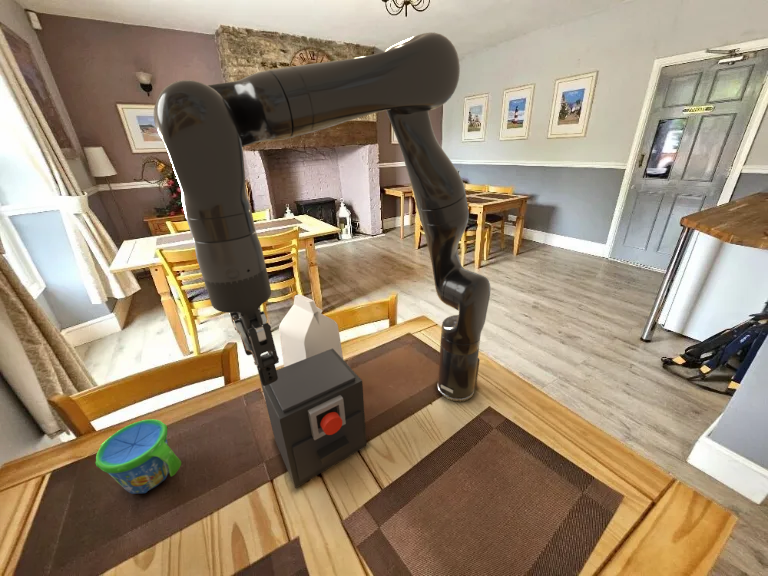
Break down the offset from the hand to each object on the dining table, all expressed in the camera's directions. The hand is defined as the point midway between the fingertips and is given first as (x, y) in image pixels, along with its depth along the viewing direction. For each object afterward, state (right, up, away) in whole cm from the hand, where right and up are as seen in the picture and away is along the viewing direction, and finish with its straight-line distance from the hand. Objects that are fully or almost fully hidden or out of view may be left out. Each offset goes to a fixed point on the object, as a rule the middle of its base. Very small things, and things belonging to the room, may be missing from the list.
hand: (261, 366), depth 47 cm
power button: (+9, -14, +9) cm, 19 cm away
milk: (0, -14, +38) cm, 41 cm away
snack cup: (-28, -26, +15) cm, 41 cm away
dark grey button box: (+5, -23, +20) cm, 31 cm away
